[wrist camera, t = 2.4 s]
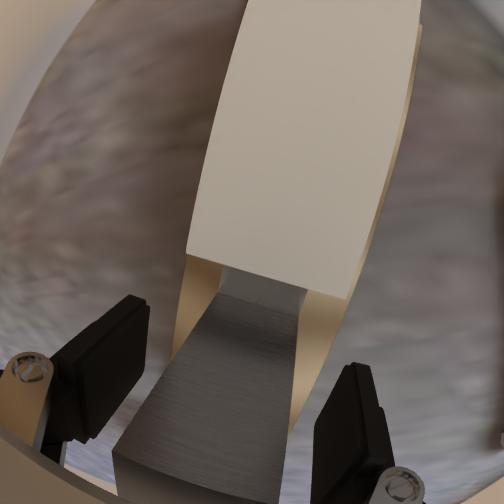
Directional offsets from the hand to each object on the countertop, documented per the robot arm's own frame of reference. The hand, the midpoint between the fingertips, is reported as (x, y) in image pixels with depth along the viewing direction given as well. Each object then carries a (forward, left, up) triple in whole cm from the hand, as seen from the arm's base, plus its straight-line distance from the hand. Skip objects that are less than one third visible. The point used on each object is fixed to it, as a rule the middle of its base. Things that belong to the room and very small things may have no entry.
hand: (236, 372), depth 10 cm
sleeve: (0, -9, -8) cm, 12 cm away
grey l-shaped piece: (0, -4, -5) cm, 6 cm away
